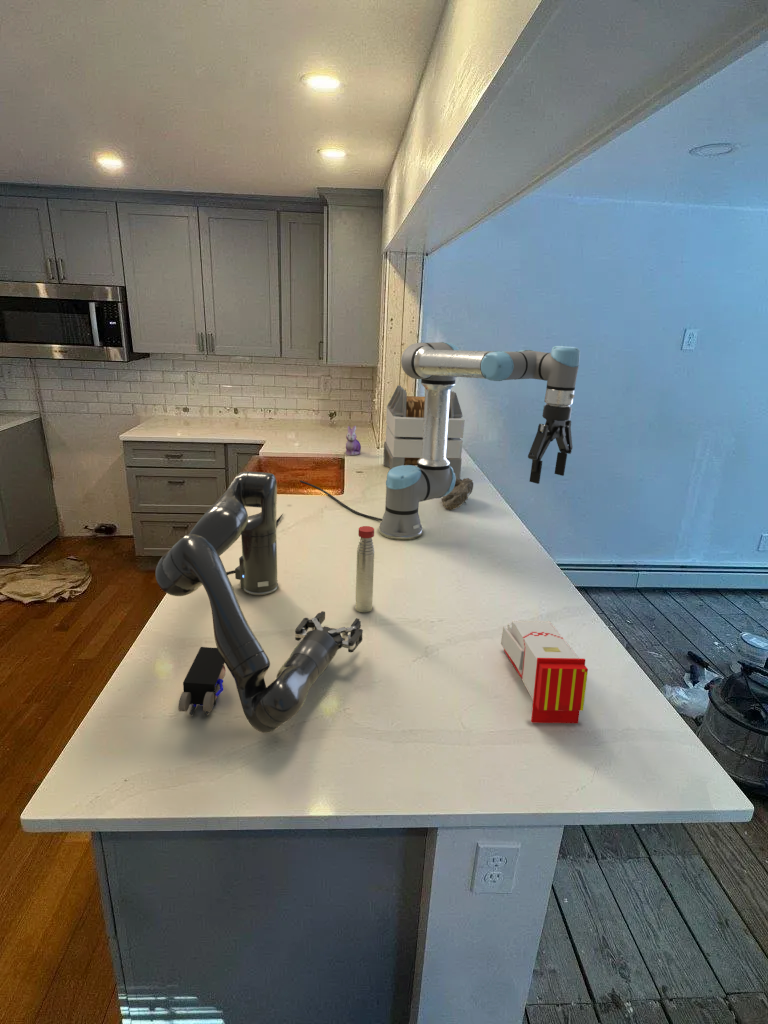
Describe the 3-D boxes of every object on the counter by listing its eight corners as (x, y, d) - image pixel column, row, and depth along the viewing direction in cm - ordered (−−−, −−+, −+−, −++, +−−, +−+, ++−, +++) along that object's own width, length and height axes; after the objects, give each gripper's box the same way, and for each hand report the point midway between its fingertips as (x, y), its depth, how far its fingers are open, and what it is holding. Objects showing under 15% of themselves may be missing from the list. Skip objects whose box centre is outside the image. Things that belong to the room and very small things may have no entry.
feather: (290, 508, 223) (292, 504, 223) (272, 532, 197) (275, 527, 196) (286, 505, 223) (289, 501, 223) (268, 529, 197) (271, 525, 196)
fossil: (437, 484, 244) (466, 465, 239) (450, 500, 247) (479, 482, 242) (436, 505, 224) (468, 485, 219) (450, 523, 227) (482, 504, 222)
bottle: (355, 612, 147) (357, 533, 140) (355, 604, 152) (357, 526, 144) (371, 612, 148) (375, 533, 140) (372, 604, 152) (375, 527, 144)
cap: (358, 538, 141) (358, 531, 140) (358, 532, 144) (358, 525, 144) (374, 538, 141) (374, 532, 140) (374, 532, 144) (374, 526, 144)
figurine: (348, 456, 299) (349, 428, 294) (341, 451, 307) (341, 424, 302) (364, 455, 303) (365, 427, 298) (356, 450, 312) (357, 423, 307)
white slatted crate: (382, 463, 289) (386, 382, 275) (445, 464, 293) (451, 384, 279) (390, 482, 257) (394, 392, 243) (460, 483, 261) (468, 394, 247)
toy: (547, 606, 135) (596, 665, 106) (541, 658, 138) (589, 729, 108) (496, 604, 134) (532, 664, 105) (492, 657, 137) (526, 729, 108)
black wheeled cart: (215, 728, 107) (233, 673, 120) (211, 698, 104) (230, 644, 117) (179, 727, 107) (201, 672, 120) (174, 697, 103) (197, 644, 117)
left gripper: (281, 664, 121) (312, 626, 135) (343, 679, 117) (369, 638, 131) (280, 633, 118) (312, 598, 133) (344, 648, 114) (370, 609, 129)
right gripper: (546, 410, 146) (535, 489, 153) (592, 403, 162) (580, 474, 170) (521, 406, 151) (511, 482, 158) (568, 399, 167) (557, 468, 175)
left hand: (340, 618), depth 132 cm, fingers open, 8 cm apart
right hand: (547, 478), depth 164 cm, fingers open, 13 cm apart
